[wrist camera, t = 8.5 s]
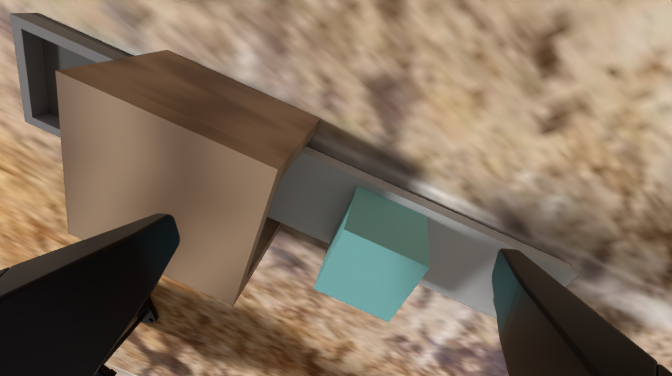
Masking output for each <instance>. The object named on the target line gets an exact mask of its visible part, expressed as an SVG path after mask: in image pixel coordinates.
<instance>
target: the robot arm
mask: <svg viewBox="0 0 672 376" xmlns="http://www.w3.org/2000/svg"><path fill="white" fill-rule="evenodd" d="M179 243H180V235H179V232H178V228H177V225H176V222H175V219H174V217H173V216H172V215H171V214H163V213H157V214H154V215H151V216H148V217H146V218H143V219H140V220H137V221H135V222H132V223H129V224H126V225H124V226H121V227H118V228H115V229H113V230H110V231H107V232H104V233H102V234H99V235H96V236H93V237H91V238H88V239H85V240H82V241H80V242H77V243H74V244H71V245H69V246H66V247H63V248H60V249H58V250H55V251H52V252H49V253H47V254H44V255H41V256H38V257H36V258H33V259H30V260H27V261H25V262H22V263H19V264H16V265H14V266H12V267H11V268H5V269H2V270H0V376H115V375H116V373H117V372H115V371H114V370H113V369H109V368H108V367H106V366H105V365H104V364H105V363H106V362H107V360H108V359H109V358H110V357H111V356H112V355H113V353H114V352H115V351H116V350H117V349H118V348H119V346H120V345H121V344H122V343H123V342H124V341H125V340H126V338H127V337H128V336H129V335H130V334H131V333H132V331H133V330H134V329H135V328H136V327H137V326H138V324H139V323H140V322H147V323H156V321H157V320H158V316H157V313H156V311H155V309H154V307H153V305H152V302H151V300H150V298H149V295H150V294H151V292H152V291H153V289H154V288H155V286H156V285H157V283H158V281H159V279H160V278H161V276H162V274H163V272H164V271H165V269H166V267H167V265H168V264H169V262H170V260H171V258H172V256H173V255H174V253H175V251H176V249H177V248H178V246H179ZM492 287H493V294H494V301H495V309H496V316H497V324H498V331H499V337H500V342H501V347H502V351H503V355H504V358H505V362H506V366H507V370H508V374H509V376H672V373H671V372H670V371H669V370H668V369H666V368H665V367H664V366H663V365H660V364H659V365H657V361H656V360H655V359H654V358H652V357H651V356H650V355H649V354H647V353H646V352H645V351H644V350H642V349H641V348H640V347H639V346H638V345H636V344H635V343H634V342H633V341H631V340H630V339H629V338H628V337H626V336H625V335H624V334H623V333H621V332H620V331H619V330H618V329H616V328H615V327H614V326H613V325H611V324H610V323H609V322H608V321H607V320H605V319H604V318H603V317H602V316H600V315H599V314H598V313H597V312H595V311H594V310H593V309H592V308H590V307H589V306H588V305H587V304H585V303H584V302H583V301H582V300H580V299H579V298H578V297H577V296H576V295H574V294H573V293H572V292H571V291H569V290H568V289H567V288H566V287H564V286H563V285H562V284H561V283H559V282H558V281H557V280H556V279H554V278H553V277H552V276H551V275H549V274H548V273H547V272H546V271H544V270H543V269H542V268H541V267H540V266H538V265H537V264H536V263H535V262H533V261H532V260H531V259H530V258H528V257H527V256H526V255H525V254H523V253H522V252H521V251H519V250H517V249H509V248H501V249H500V250H499V251H498V254H497V257H496V261H495V265H494V269H493V273H492Z"/></svg>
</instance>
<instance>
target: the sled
mask: <svg viewBox="0 0 672 376" xmlns="http://www.w3.org/2000/svg"><path fill="white" fill-rule="evenodd" d="M267 217H269V218H271V219H273V220H276V221H278V222H280V223H282V224H285V225H287V226H289V227H291V228H294V229H296V230H298V231H300V232H303V233H305V234H307V235H309V236H312V237H314V238H316V239H318V240H321V241H323V242H325V243H327V244H329V246H328V249H327V252H326V255H325V257H324V260H323V263H322V266H321V269H320V271H319V274H318V277H317V280H316V283H315V286H314V288H313V289H315V290H317V291H320V292H322V293H324V294H326V295H329V296H331V297H333V298H335V299H338V300H340V301H342V302H345V303H347V304H349V305H351V306H354V307H356V308H358V309H360V310H363V311H365V312H367V313H369V314H372V315H374V316H376V317H378V318H381V319H383V320H385V321H387V322H389V321H390V320H391V318H392V317H393V316H394V314H395V313H396V312H397V310H398V309H399V308H400V307H401V305H402V304H403V303H404V301H405V300H406V299H407V297H408V296H409V295H410V293H411V292H412V291H413V289H414V288H415V287H416V285H417V284H420V285H422V286H424V287H426V288H429V289H431V290H433V291H435V292H438V293H440V294H442V295H444V296H447V297H449V298H451V299H453V300H456V301H458V302H460V303H462V304H465V305H467V306H469V307H471V308H474V309H476V310H478V311H480V312H483V313H485V314H487V315H489V316H492V317H494V318H496V319H497V316H496V309H495V301H494V294H493V287H492V273H493V269H494V265H495V261H496V257H497V254H498V251H499V250H500V249H501V248H509V249H517V250H519V251H521V252H522V253H523V254H525V255H526V256H527V257H528V258H530V259H531V260H532V261H533V262H535V263H536V264H537V265H538V266H540V267H541V268H542V269H543V270H544V271H546V272H547V273H548V274H549V275H551V276H552V277H553V278H554V279H556V280H557V281H558V282H559V283H561V284H562V285H563V286H564V287H566V286H567V285H568V284H569V283H570V282H572V281H573V280H574V279H575V278H576V277H577V276H578V275H577V273H576V272H575V270H574V268H573V267H572V265H571V264H569V263H566V262H564V261H562V260H560V259H557V258H555V257H553V256H551V255H549V254H546V253H544V252H542V251H540V250H537V249H535V248H533V247H531V246H528V245H526V244H524V243H522V242H519V241H517V240H515V239H513V238H511V237H508V236H506V235H504V234H502V233H499V232H497V231H495V230H493V229H490V228H488V227H486V226H484V225H481V224H479V223H477V222H475V221H472V220H470V219H468V218H466V217H464V216H461V215H459V214H457V213H455V212H452V211H450V210H448V209H446V208H443V207H441V206H439V205H437V204H434V203H432V202H430V201H428V200H426V199H423V198H421V197H419V196H417V195H414V194H412V193H410V192H408V191H405V190H403V189H401V188H399V187H396V186H394V185H392V184H390V183H388V182H385V181H383V180H381V179H379V178H376V177H374V176H372V175H370V174H367V173H365V172H363V171H361V170H358V169H356V168H354V167H352V166H349V165H347V164H345V163H343V162H341V161H338V160H336V159H334V158H332V157H329V156H327V155H325V154H323V153H320V152H318V151H316V150H314V149H311V148H309V147H307V146H306V147H305V148H304V149H303V150H302V152H301V153H300V154H299V156H298V157H297V158H296V160H295V161H294V162H293V164H292V165H291V166H290V167H289V169H288V170H287V171H286V173H285V174H284V175H283V177H282V178H281V179H280V181H279V182H278V185H277V188H276V191H275V194H274V197H273V200H272V203H271V206H270V209H269V212H268V215H267Z"/></svg>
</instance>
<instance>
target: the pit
mask: <svg viewBox="0 0 672 376" xmlns="http://www.w3.org/2000/svg"><path fill="white" fill-rule="evenodd" d="M10 16H11V23H12V30H13V38H14V45H15V52H16V59H17V66H18V73H19V81H20V88H21V95H22V102H23V109H24V117H25V122H27V123H29V124H32V125H34V126H36V127H38V128H41V129H43V130H45V131H47V132H50V133H52V134H54V135H56V136H59V137H61V134H60V121H59V109H58V96H57V84H56V70H61V69H66V68H72V67H77V66H83V65H88V64H94V63H99V62H105V61H110V60H115V59H121V58H126V57H132V55H130V54H128V53H126V52H124V51H121V50H119V49H117V48H115V47H112V46H110V45H108V44H106V43H103V42H101V41H99V40H97V39H94V38H92V37H90V36H88V35H86V34H83V33H81V32H79V31H77V30H74V29H72V28H70V27H68V26H65V25H63V24H61V23H59V22H56V21H54V20H52V19H50V18H48V17H45V16H43V15H41V14H39V13H10Z"/></svg>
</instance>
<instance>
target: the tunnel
mask: <svg viewBox="0 0 672 376" xmlns="http://www.w3.org/2000/svg"><path fill="white" fill-rule="evenodd" d="M56 84H57V96H58V109H59V121H60V134H61V146H62V159H63V171H64V184H65V196H66V209H67V221H68V233H69V234H71V235H73V236H76V237H78V238H80V239H82V240H85V239H88V238H91V237H93V236H96V235H99V234H102V233H104V232H107V231H110V230H113V229H115V228H118V227H121V226H124V225H126V224H129V223H132V222H135V221H137V220H140V219H143V218H146V217H148V216H151V215H154V214H157V213H163V214H171V215H172V216H173V217H174V219H175V222H176V225H177V228H178V232H179V235H180V243H179V246H178V248H177V249H176V251H175V253H174V255H173V256H172V258H171V260H170V262H169V264H168V265H167V267H166V269H165V271H164V272H163V274H162V275H164V276H166V277H169V278H171V279H173V280H175V281H178V282H180V283H182V284H185V285H187V286H189V287H191V288H194V289H196V290H198V291H200V292H203V293H205V294H207V295H210V296H212V297H214V298H216V299H219V300H221V301H223V302H225V303H228V304H230V305H232V306H234V304H235V302H236V301H237V299H238V297H239V296H240V294H241V292H242V291H243V289H244V287H245V286H246V284H247V282H248V281H249V279H250V277H251V276H252V274H253V272H254V271H255V269H256V267H257V266H258V264H259V262H260V261H261V259H262V257H263V256H264V254H265V252H266V251H267V249H268V247H269V246H270V244H271V242H272V241H273V239H274V237H275V236H276V234H277V232H278V231H279V228H280V225H281V223H280V222H278V221H276V220H273V219H271V218H269V217H267V215H268V212H269V209H270V206H271V203H272V200H273V197H274V194H275V191H276V188H277V185H278V182H279V181H280V179H281V178H282V177H283V175H284V174H285V173H286V171H287V170H288V169H289V167H290V166H291V165H292V164H293V162H294V161H295V160H296V158H297V157H298V156H299V154H300V153H301V152H302V150H303V149H304V148H305V147H306V145H307V144H308V143H309V141H310V140H311V139H312V137H313V136H314V134H315V131H316V128H317V126H318V123H319V120H320V118H317V117H315V116H313V115H311V114H308V113H306V112H304V111H302V110H300V109H297V108H295V107H293V106H291V105H288V104H286V103H284V102H282V101H279V100H277V99H275V98H273V97H271V96H268V95H266V94H264V93H262V92H259V91H257V90H255V89H253V88H250V87H248V86H246V85H244V84H242V83H239V82H237V81H235V80H233V79H230V78H228V77H226V76H224V75H221V74H219V73H217V72H215V71H213V70H210V69H208V68H206V67H204V66H201V65H199V64H197V63H195V62H192V61H190V60H188V59H186V58H184V57H181V56H179V55H177V54H175V53H172V52H170V51H168V50H164V51H159V52H153V53H148V54H143V55H137V56H132V57H126V58H121V59H115V60H110V61H105V62H99V63H94V64H88V65H83V66H77V67H72V68H66V69H61V70H56Z"/></svg>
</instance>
